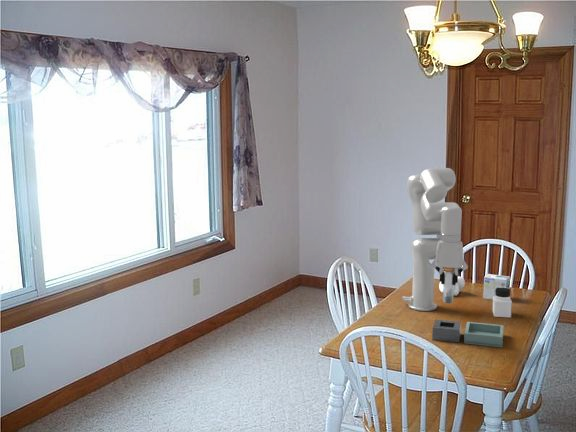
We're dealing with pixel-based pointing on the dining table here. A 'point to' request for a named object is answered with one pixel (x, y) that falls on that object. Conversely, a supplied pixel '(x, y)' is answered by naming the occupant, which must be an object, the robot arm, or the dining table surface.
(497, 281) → the light bulb box
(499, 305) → the medicine bottle
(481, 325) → the tray
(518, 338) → the dining table surface
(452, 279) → the pin
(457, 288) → the white irregular lump
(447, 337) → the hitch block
